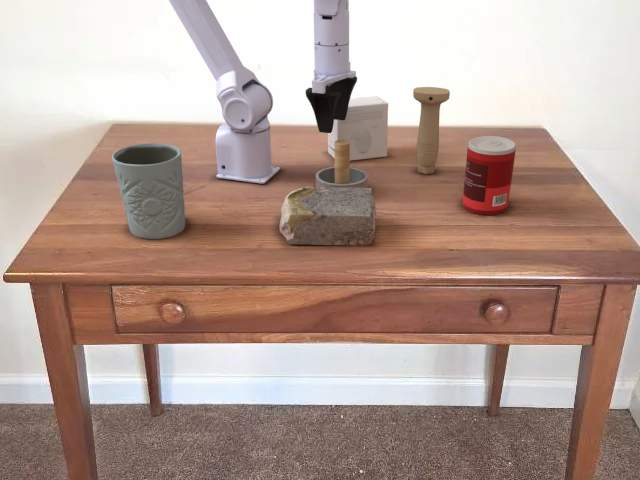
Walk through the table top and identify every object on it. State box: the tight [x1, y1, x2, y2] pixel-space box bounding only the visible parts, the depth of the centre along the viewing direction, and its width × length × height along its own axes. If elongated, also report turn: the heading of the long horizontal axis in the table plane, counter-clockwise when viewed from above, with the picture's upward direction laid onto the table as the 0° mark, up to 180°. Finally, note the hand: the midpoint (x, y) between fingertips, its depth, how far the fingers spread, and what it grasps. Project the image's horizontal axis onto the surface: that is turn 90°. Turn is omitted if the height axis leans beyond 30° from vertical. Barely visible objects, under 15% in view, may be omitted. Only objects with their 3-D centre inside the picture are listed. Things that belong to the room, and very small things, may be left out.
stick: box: [334, 140, 351, 184], centre depth 128 cm, size 3×3×8 cm
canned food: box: [462, 135, 517, 216], centre depth 123 cm, size 8×8×11 cm
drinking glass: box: [111, 142, 186, 240], centre depth 114 cm, size 10×10×12 cm
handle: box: [412, 86, 451, 175], centre depth 135 cm, size 5×6×15 cm
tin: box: [315, 166, 369, 189], centre depth 130 cm, size 9×9×3 cm
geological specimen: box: [278, 185, 377, 247], centre depth 115 cm, size 11×6×15 cm
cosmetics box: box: [327, 95, 389, 162], centre depth 144 cm, size 10×6×10 cm, turn 111°
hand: (332, 125), depth 128 cm, fingers open, 7 cm apart
